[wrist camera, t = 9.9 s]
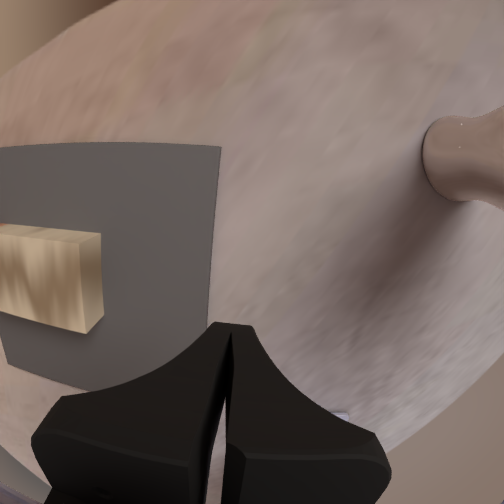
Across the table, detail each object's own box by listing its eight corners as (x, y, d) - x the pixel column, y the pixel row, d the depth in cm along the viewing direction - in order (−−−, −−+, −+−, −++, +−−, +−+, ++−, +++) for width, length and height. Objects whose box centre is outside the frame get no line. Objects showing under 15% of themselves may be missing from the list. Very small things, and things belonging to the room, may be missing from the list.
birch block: (86, 333, 18) (-14, 306, 18) (104, 314, 21) (7, 293, 21) (79, 243, 17) (-24, 230, 17) (100, 233, 20) (0, 223, 20)
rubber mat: (203, 411, 24) (202, 414, 23) (10, 361, 24) (8, 363, 23) (221, 147, 19) (220, 146, 18) (-13, 149, 18) (-16, 149, 18)
